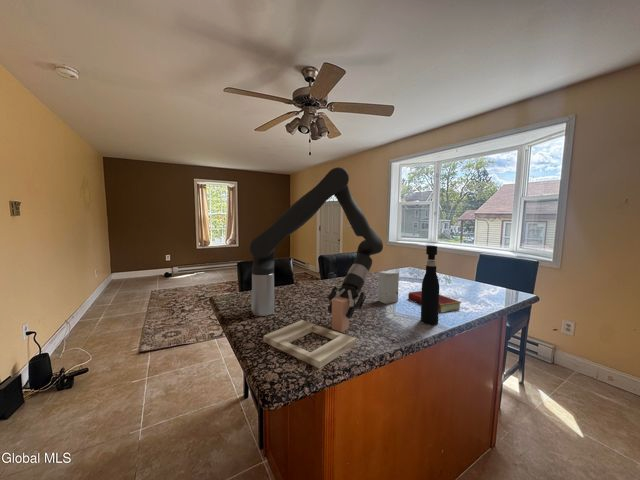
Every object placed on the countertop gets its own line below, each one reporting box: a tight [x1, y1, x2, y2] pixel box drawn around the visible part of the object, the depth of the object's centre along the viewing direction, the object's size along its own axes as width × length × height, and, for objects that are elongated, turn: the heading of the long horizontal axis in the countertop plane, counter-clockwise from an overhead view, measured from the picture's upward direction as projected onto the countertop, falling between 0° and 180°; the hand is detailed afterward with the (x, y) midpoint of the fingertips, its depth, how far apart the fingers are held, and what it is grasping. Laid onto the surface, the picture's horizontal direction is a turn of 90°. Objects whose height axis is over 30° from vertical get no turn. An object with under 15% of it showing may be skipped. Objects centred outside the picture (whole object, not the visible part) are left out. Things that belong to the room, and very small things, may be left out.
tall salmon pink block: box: [331, 296, 350, 333], centre depth 95 cm, size 5×5×11 cm
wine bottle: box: [420, 245, 440, 326], centre depth 101 cm, size 6×6×30 cm
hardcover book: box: [407, 290, 462, 313], centre depth 124 cm, size 12×21×4 cm, turn 20°
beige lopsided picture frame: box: [263, 319, 357, 370], centre depth 83 cm, size 24×18×2 cm
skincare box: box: [377, 270, 400, 305], centre depth 127 cm, size 8×6×15 cm
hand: (338, 314), depth 94 cm, fingers open, 7 cm apart
